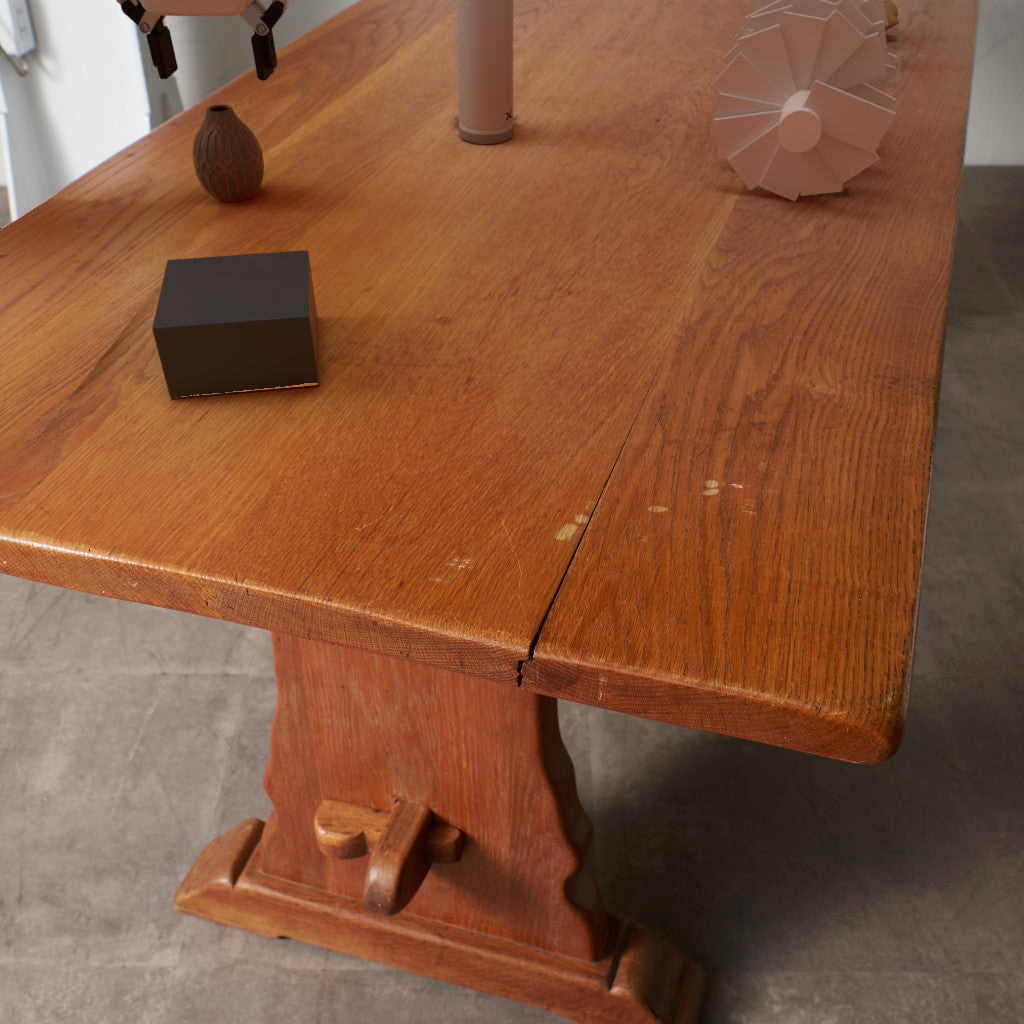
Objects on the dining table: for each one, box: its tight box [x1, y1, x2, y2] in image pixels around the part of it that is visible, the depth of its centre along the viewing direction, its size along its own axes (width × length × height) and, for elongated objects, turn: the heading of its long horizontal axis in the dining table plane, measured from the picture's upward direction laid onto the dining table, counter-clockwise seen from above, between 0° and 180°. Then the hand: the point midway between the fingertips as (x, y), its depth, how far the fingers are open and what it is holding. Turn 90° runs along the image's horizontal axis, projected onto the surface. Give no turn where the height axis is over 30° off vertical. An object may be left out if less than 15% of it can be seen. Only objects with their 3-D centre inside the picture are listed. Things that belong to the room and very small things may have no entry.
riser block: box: [151, 249, 320, 399], centre depth 78 cm, size 11×11×6 cm
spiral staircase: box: [709, 0, 898, 202], centre depth 105 cm, size 18×18×25 cm
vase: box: [192, 104, 265, 203], centre depth 102 cm, size 7×7×9 cm
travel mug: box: [454, 0, 514, 145], centre depth 111 cm, size 6×7×20 cm
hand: (217, 75), depth 97 cm, fingers open, 9 cm apart
